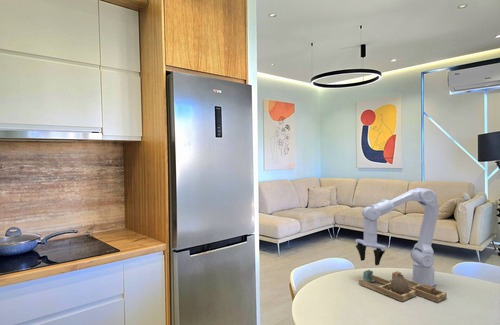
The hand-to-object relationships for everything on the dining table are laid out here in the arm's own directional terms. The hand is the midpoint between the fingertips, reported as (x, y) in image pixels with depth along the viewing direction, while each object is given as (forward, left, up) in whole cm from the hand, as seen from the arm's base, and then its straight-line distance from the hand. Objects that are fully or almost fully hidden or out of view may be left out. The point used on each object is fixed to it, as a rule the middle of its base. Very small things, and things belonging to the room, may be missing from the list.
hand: (369, 262), depth 144 cm
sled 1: (+1, +9, -9) cm, 13 cm away
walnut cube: (-9, +22, -10) cm, 25 cm away
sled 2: (-9, +17, -9) cm, 21 cm away
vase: (+1, +15, -10) cm, 18 cm away
